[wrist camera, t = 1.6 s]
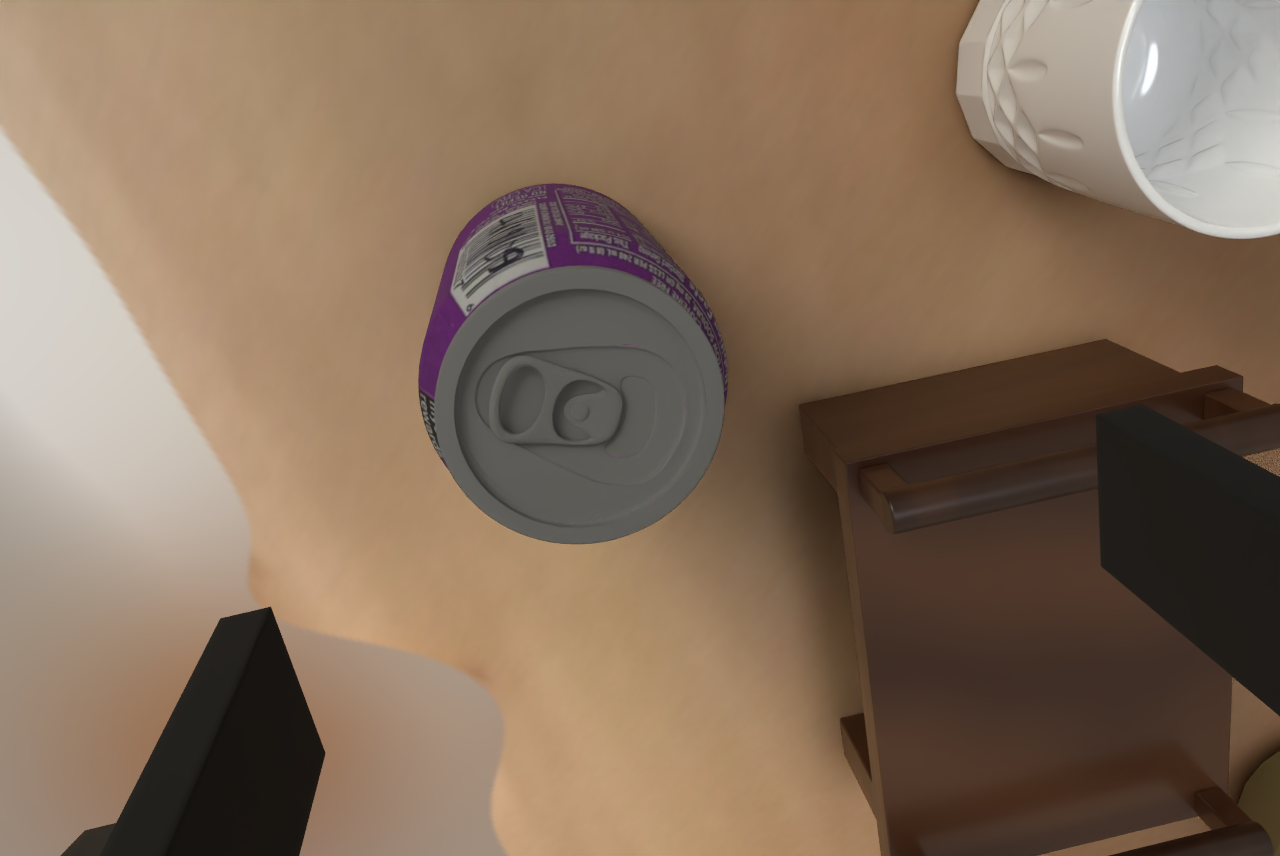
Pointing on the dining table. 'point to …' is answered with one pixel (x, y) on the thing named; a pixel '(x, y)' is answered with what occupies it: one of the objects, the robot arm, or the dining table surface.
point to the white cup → (1135, 103)
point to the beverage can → (570, 368)
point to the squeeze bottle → (1265, 798)
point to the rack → (1023, 613)
